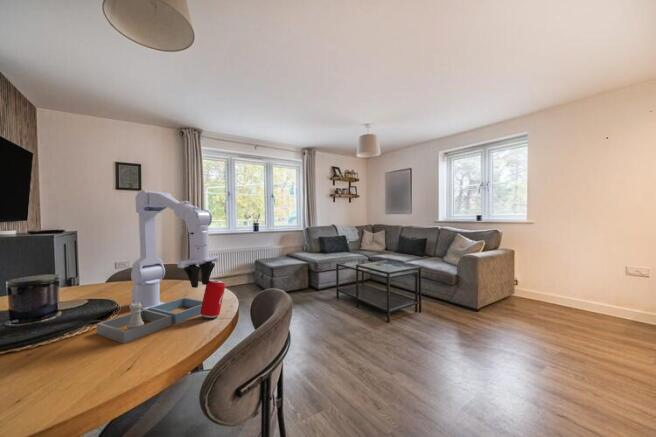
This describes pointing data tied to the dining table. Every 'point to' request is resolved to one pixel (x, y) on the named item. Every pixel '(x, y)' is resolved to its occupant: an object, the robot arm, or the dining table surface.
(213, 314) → the beverage can
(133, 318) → the rook chess piece
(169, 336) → the dining table surface
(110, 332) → the charcoal bin
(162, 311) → the slate bin
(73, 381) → the dining table surface
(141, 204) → the robot arm
